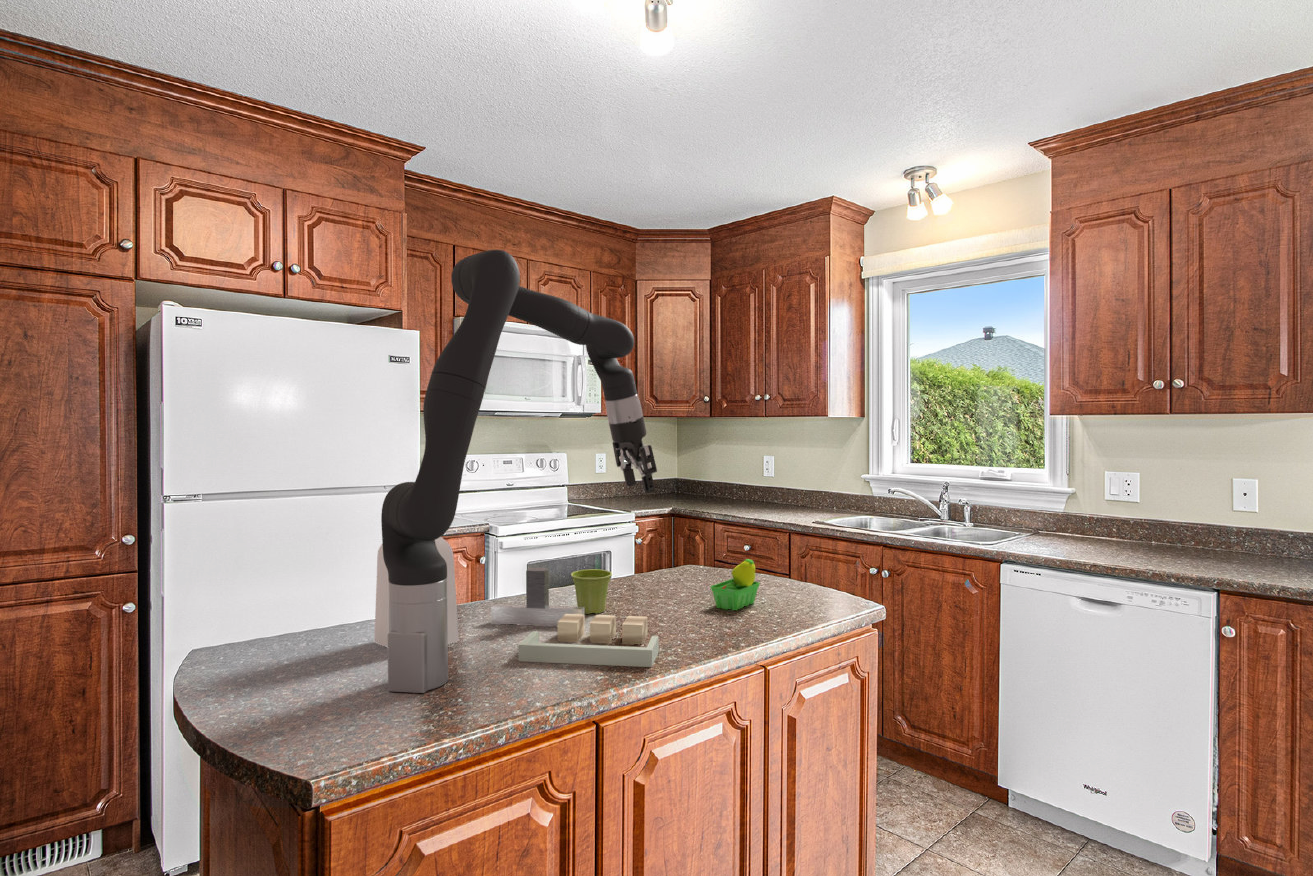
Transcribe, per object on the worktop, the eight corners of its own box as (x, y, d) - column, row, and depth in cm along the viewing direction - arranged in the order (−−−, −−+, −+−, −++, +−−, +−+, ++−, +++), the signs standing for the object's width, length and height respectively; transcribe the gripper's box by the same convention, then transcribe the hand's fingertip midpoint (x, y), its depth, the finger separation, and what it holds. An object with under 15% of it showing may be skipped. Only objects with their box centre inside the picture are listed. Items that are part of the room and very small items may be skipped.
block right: (642, 645, 138) (642, 625, 138) (622, 644, 139) (622, 624, 139) (647, 636, 144) (647, 616, 144) (627, 635, 145) (627, 616, 145)
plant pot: (620, 609, 165) (620, 572, 164) (595, 619, 157) (595, 579, 156) (588, 604, 170) (588, 567, 169) (562, 613, 162) (562, 575, 161)
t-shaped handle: (581, 629, 150) (581, 572, 149) (490, 625, 152) (490, 569, 152) (585, 625, 153) (584, 569, 152) (495, 621, 155) (495, 566, 155)
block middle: (609, 644, 139) (609, 623, 139) (589, 643, 140) (589, 623, 140) (615, 635, 145) (615, 615, 145) (596, 634, 146) (596, 615, 145)
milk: (459, 641, 141) (457, 510, 140) (404, 655, 132) (402, 516, 132) (427, 630, 149) (426, 505, 148) (374, 642, 140) (372, 510, 140)
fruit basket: (733, 598, 175) (733, 552, 174) (765, 603, 169) (765, 556, 169) (708, 608, 165) (708, 559, 165) (742, 614, 160) (742, 564, 160)
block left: (577, 642, 140) (577, 622, 140) (557, 642, 141) (557, 622, 140) (584, 634, 146) (584, 614, 146) (565, 633, 146) (565, 613, 146)
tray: (652, 667, 125) (652, 650, 125) (518, 661, 129) (518, 644, 129) (658, 651, 134) (658, 636, 134) (533, 646, 137) (533, 631, 137)
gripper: (595, 419, 157) (611, 488, 160) (625, 424, 144) (641, 499, 148) (625, 410, 160) (639, 478, 164) (656, 415, 148) (671, 488, 151)
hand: (640, 488), depth 156 cm, fingers open, 8 cm apart
